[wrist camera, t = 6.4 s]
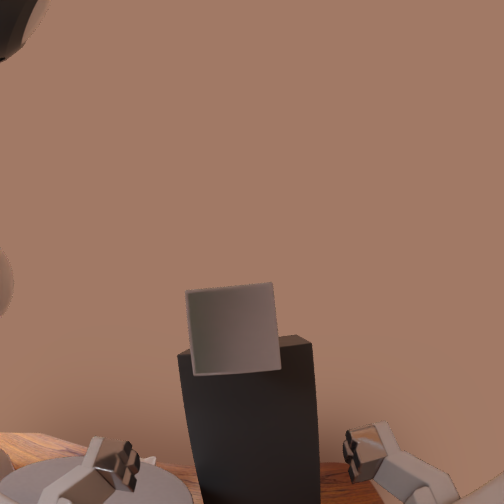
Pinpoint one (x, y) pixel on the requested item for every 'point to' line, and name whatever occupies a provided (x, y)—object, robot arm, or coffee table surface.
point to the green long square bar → (233, 329)
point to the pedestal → (256, 430)
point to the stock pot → (142, 500)
